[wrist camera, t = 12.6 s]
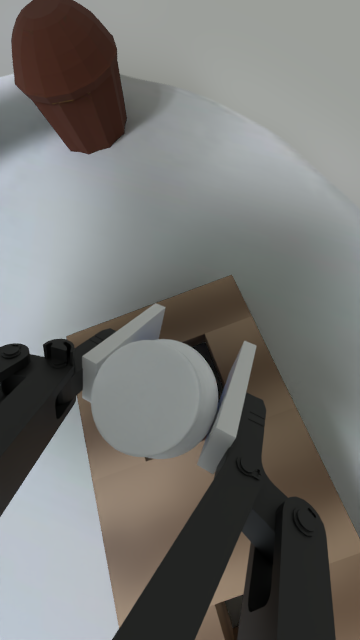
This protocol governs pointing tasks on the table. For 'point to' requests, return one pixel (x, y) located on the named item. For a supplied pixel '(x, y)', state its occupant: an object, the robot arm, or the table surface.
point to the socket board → (193, 481)
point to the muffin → (70, 72)
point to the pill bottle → (154, 399)
